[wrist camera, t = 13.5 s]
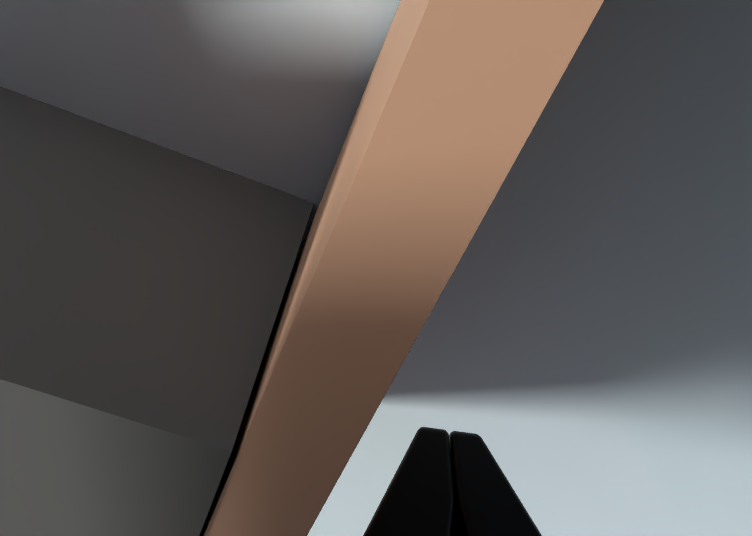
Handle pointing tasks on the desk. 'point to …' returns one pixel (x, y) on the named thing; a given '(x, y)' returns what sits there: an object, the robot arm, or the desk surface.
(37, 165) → the block
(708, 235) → the desk surface
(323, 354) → the door
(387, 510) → the robot arm
